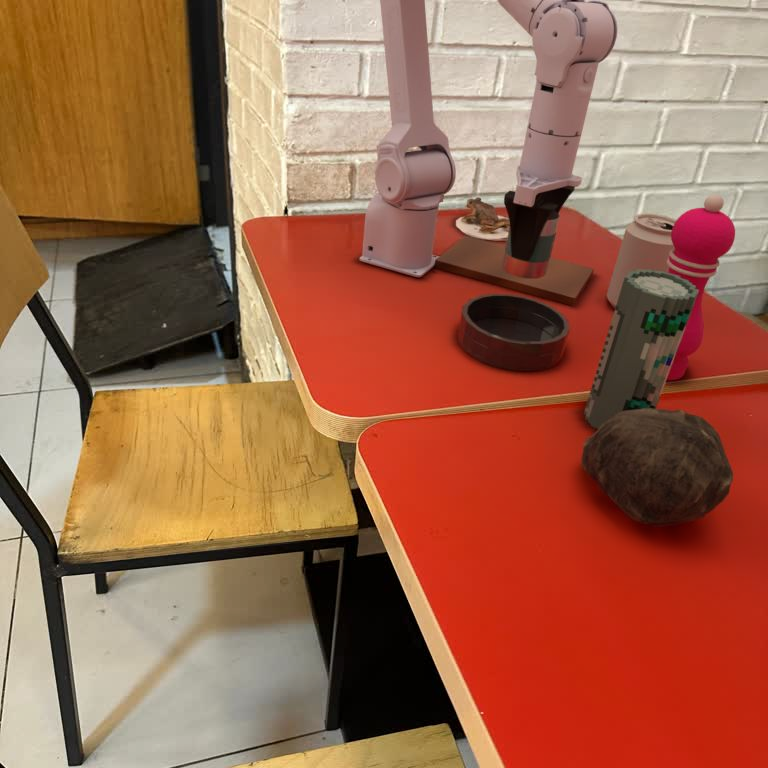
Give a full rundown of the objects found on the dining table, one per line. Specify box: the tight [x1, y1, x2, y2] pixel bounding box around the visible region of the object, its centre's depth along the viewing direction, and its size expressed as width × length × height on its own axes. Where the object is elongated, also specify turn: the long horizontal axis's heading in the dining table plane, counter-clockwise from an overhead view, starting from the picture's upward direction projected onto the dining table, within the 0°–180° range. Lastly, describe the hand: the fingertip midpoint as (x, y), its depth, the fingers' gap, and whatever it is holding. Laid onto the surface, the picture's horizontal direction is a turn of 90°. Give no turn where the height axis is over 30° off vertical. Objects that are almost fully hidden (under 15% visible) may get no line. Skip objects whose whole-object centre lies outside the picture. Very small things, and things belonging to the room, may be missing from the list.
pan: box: [457, 293, 571, 372], centre depth 80 cm, size 12×12×4 cm
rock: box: [581, 408, 734, 527], centre depth 57 cm, size 10×11×10 cm
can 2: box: [583, 269, 699, 430], centre depth 65 cm, size 6×6×15 cm
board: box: [433, 235, 595, 307], centre depth 99 cm, size 20×12×1 cm, turn 64°
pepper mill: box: [666, 194, 736, 381], centre depth 74 cm, size 7×7×20 cm
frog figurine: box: [455, 196, 510, 242], centre depth 113 cm, size 12×12×4 cm
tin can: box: [502, 211, 560, 279], centre depth 80 cm, size 5×5×7 cm
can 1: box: [606, 213, 677, 309], centre depth 89 cm, size 8×8×12 cm
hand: (527, 250), depth 81 cm, fingers closed on tin can, 5 cm apart
